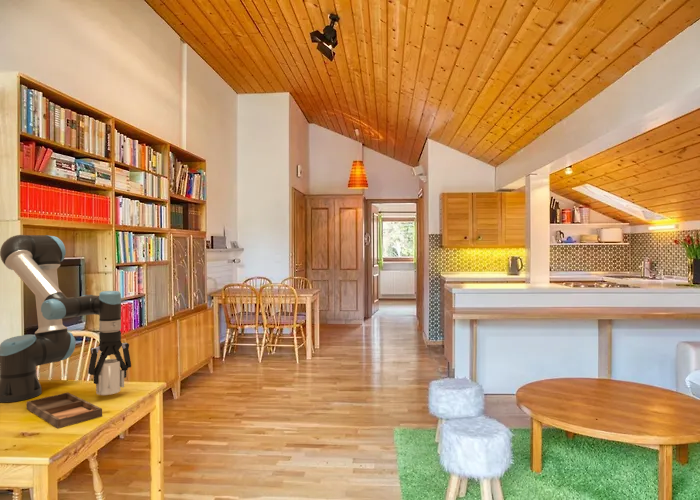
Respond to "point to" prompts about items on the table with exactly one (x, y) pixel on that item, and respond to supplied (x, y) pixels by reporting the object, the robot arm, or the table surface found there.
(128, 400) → the table surface
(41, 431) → the table surface
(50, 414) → the rack
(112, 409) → the table surface
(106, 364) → the mug
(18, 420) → the table surface
